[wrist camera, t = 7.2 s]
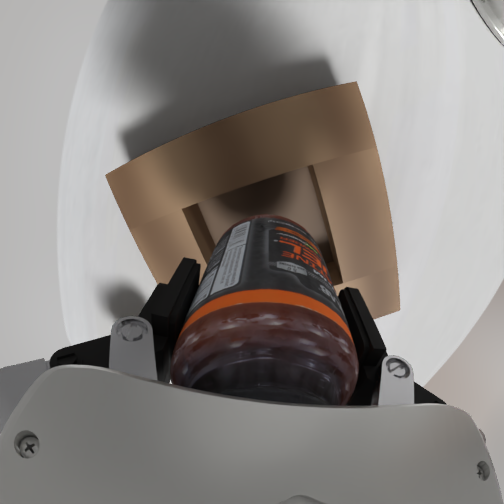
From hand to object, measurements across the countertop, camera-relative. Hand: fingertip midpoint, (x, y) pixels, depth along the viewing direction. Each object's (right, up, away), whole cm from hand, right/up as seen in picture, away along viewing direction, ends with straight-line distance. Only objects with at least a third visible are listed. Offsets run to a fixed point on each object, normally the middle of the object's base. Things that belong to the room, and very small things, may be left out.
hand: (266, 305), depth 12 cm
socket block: (+1, +4, +9) cm, 10 cm away
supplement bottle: (0, +2, +4) cm, 4 cm away
